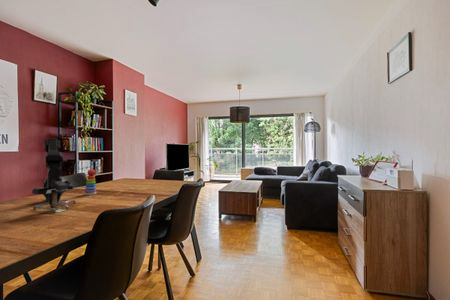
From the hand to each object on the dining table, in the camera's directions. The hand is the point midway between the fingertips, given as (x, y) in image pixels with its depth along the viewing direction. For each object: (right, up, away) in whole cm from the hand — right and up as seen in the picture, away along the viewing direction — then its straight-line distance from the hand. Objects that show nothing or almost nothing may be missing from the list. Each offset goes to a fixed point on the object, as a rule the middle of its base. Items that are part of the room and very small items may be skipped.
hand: (53, 204), depth 133 cm
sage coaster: (+4, -3, -1) cm, 6 cm away
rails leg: (-2, -3, +1) cm, 4 cm away
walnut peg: (0, -2, 0) cm, 2 cm away
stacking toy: (-4, -3, +44) cm, 44 cm away
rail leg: (-5, -3, +8) cm, 10 cm away
